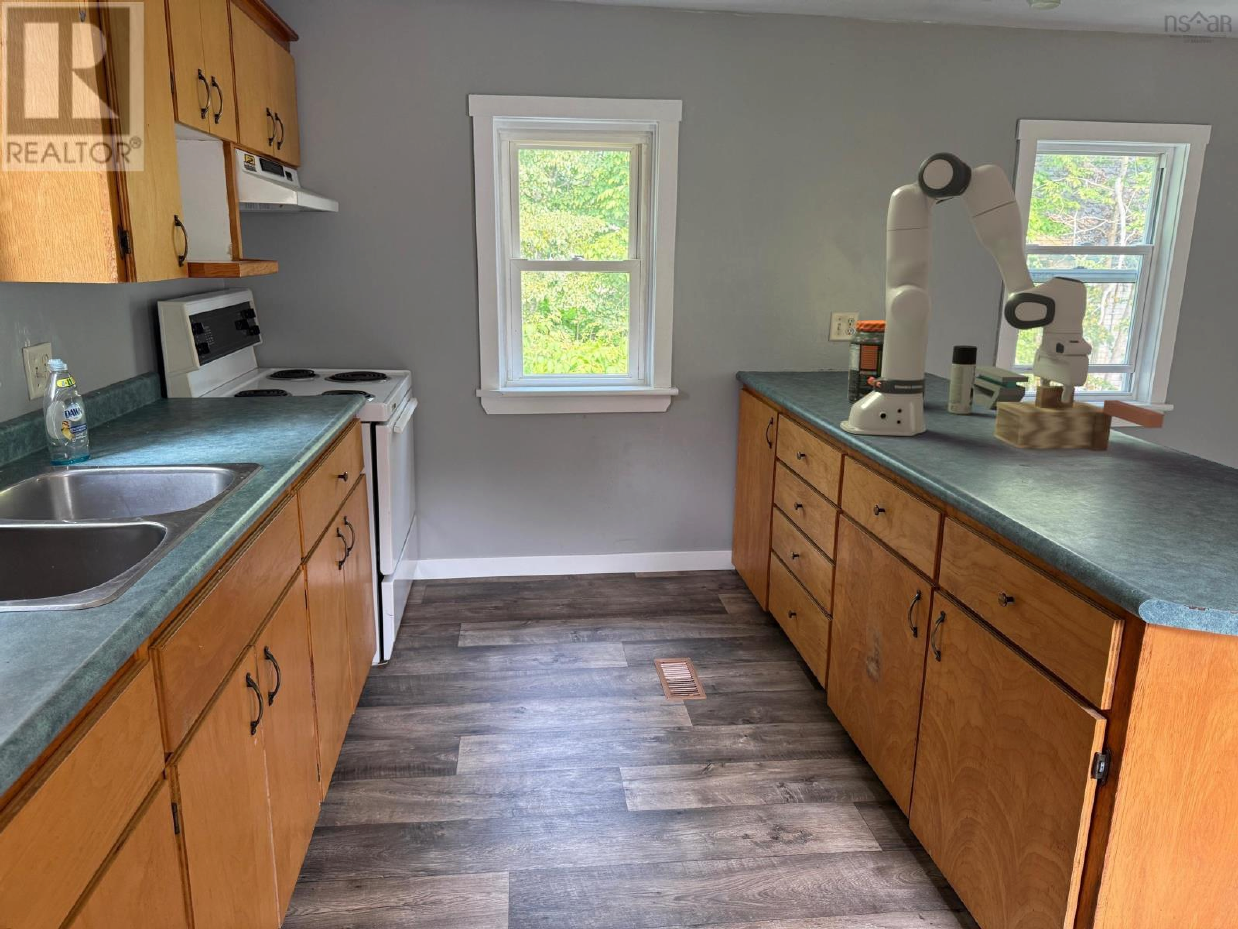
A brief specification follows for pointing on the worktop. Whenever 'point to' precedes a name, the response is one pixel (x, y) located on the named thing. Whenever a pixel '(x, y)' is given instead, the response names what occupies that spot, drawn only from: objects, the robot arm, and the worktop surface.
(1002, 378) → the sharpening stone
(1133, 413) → the bar
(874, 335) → the supplement tub
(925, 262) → the robot arm
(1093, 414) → the toolbox lid
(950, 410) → the spray can
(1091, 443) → the toolbox
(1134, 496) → the worktop surface
